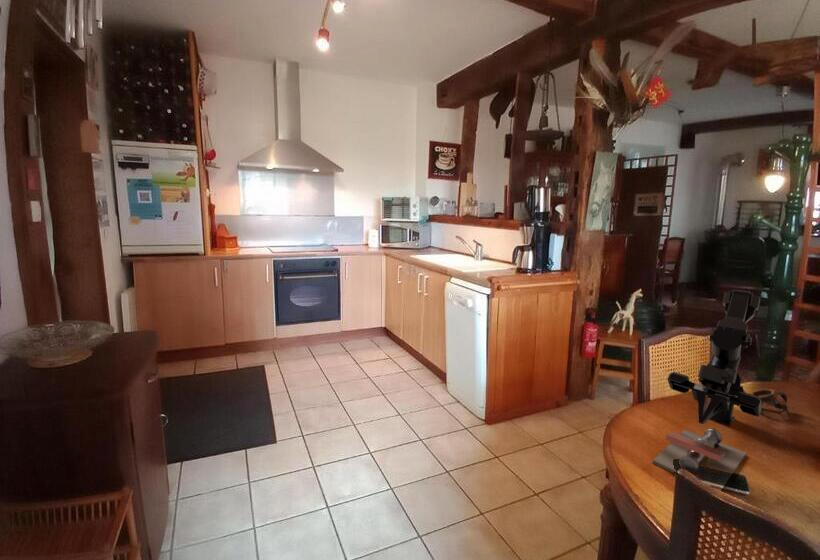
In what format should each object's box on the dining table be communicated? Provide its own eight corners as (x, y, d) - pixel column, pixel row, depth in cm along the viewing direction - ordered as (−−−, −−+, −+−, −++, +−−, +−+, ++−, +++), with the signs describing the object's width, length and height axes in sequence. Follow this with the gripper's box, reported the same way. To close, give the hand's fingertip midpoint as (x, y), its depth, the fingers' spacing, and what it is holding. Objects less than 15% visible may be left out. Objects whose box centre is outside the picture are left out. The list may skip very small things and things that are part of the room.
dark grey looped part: (782, 425, 124) (768, 399, 125) (749, 423, 132) (737, 399, 134) (804, 408, 128) (790, 383, 129) (770, 407, 137) (758, 384, 138)
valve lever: (678, 429, 109) (666, 434, 103) (729, 448, 100) (720, 455, 94) (677, 434, 109) (665, 440, 103) (728, 454, 100) (719, 461, 94)
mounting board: (684, 432, 118) (684, 429, 118) (745, 455, 108) (746, 452, 108) (652, 463, 104) (652, 460, 104) (719, 493, 93) (720, 490, 93)
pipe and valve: (703, 438, 114) (705, 425, 113) (722, 446, 110) (724, 432, 109) (676, 467, 101) (678, 453, 100) (697, 477, 98) (700, 462, 97)
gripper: (675, 342, 107) (652, 393, 103) (768, 364, 93) (747, 425, 89) (681, 363, 114) (660, 413, 109) (769, 387, 100) (749, 445, 95)
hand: (700, 423), depth 100 cm, fingers closed
